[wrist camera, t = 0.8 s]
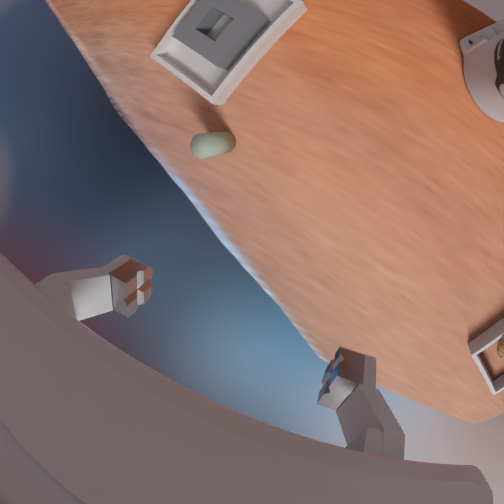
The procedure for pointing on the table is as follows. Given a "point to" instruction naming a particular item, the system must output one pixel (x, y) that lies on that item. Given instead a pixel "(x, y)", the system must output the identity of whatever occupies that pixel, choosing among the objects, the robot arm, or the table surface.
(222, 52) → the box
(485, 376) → the shell tray
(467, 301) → the table surface
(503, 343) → the nautilus
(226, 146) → the peg
